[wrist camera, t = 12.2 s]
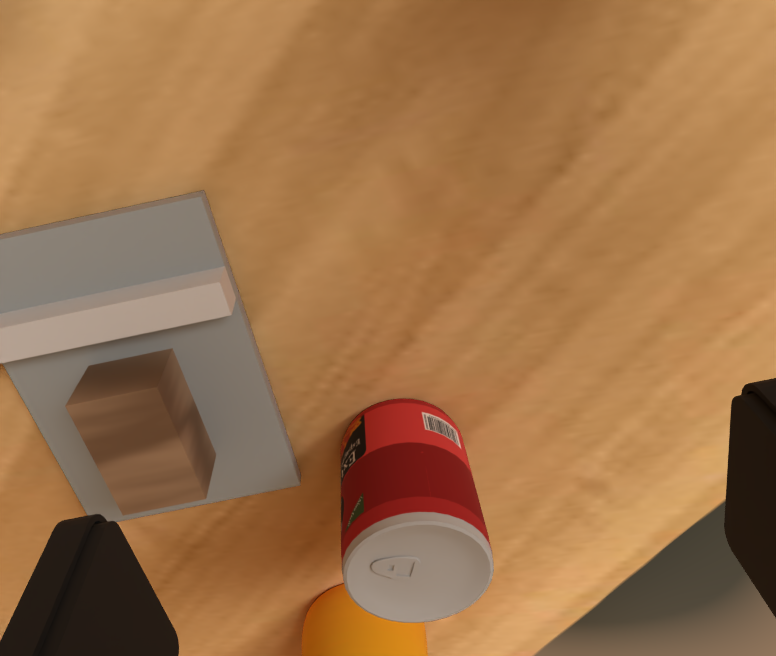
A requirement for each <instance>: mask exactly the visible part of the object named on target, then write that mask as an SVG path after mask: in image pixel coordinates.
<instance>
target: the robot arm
mask: <svg viewBox="0 0 776 656" xmlns="http://www.w3.org/2000/svg"><path fill="white" fill-rule="evenodd" d="M724 527H725V534H726V538H727V541H728V544H729V546H730V547H731V550H732V552H733V553H734V555H735V556H736V558H737V559H738V561H739V562H740V564H741V565H742V567H743V568H744V570H745V572H746V573H747V575H748V576H749V578H750V579H751V581H752V582H753V584H754V585H755V587H756V588H757V590H758V591H759V593H760V594H761V596H762V598H763V599H764V601H765V602H766V604H767V605H768V607H769V608H770V610H771V611H772V613H773V614H774V616H775V617H776V378H774V379H769V380H764V381H759V382H754V383H749V384H746V385H745V386H744V387H743V389H742V394H741V395H740V396H736V397H734V398H733V400H732V404H731V420H730V437H729V454H728V471H727V489H726V506H725V523H724ZM178 654H179V644H178V637H177V634H176V631H175V629H174V627H173V626H172V624H171V622H170V620H169V618H168V616H167V614H166V613H165V611H164V609H163V607H162V605H161V603H160V601H159V599H158V598H157V596H156V594H155V592H154V590H153V588H152V586H151V585H150V583H149V581H148V579H147V577H146V575H145V573H144V572H143V570H142V568H141V566H140V564H139V562H138V560H137V558H136V557H135V555H134V553H133V551H132V549H131V547H130V545H129V544H128V542H127V540H126V538H125V536H124V534H123V532H122V530H121V529H120V527H119V525H118V524H117V523H116V522H115V521H107V520H106V519H105V517H104V516H102V515H101V514H94V515H89V516H84V517H79V518H74V519H69V520H64V521H61V522H59V523H58V524H57V525H56V527H55V528H54V530H53V532H52V534H51V536H50V538H49V540H48V542H47V545H46V547H45V549H44V551H43V553H42V555H41V557H40V559H39V561H38V563H37V566H36V568H35V570H34V572H33V574H32V576H31V578H30V580H29V582H28V584H27V586H26V589H25V591H24V593H23V595H22V597H21V599H20V601H19V603H18V605H17V607H16V610H15V612H14V614H13V616H12V618H11V620H10V622H9V624H8V626H7V628H6V631H5V633H4V635H3V637H2V639H1V641H0V656H178Z"/></svg>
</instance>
